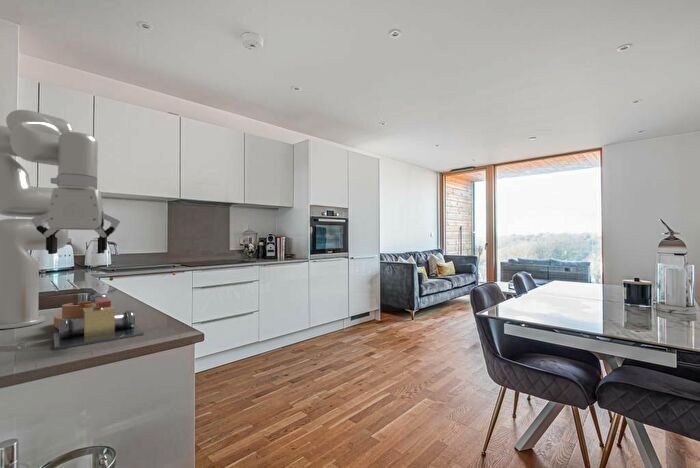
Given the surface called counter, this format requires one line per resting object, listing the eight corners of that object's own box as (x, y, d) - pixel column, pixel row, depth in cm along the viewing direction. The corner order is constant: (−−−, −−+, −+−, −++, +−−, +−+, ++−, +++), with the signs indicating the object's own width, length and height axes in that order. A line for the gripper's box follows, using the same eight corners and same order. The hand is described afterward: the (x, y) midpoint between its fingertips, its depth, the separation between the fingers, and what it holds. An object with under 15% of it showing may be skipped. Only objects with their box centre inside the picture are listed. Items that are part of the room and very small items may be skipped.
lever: (89, 300, 90) (89, 294, 90) (106, 298, 92) (106, 293, 92) (95, 308, 80) (95, 302, 80) (113, 306, 82) (113, 300, 82)
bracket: (103, 327, 94) (103, 302, 95) (65, 333, 88) (66, 307, 88) (85, 319, 106) (85, 297, 106) (51, 324, 99) (51, 301, 99)
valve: (53, 335, 88) (53, 301, 88) (132, 323, 101) (133, 294, 101) (54, 349, 77) (55, 311, 77) (143, 334, 90) (144, 301, 90)
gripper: (24, 179, 75) (23, 254, 75) (116, 184, 82) (115, 253, 82) (40, 184, 82) (39, 253, 82) (123, 188, 89) (122, 252, 89)
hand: (77, 253), depth 82 cm, fingers open, 9 cm apart
